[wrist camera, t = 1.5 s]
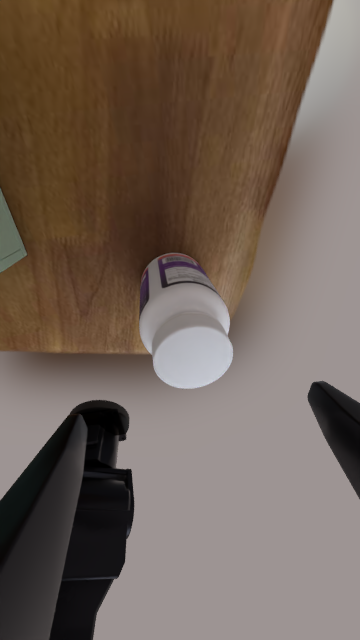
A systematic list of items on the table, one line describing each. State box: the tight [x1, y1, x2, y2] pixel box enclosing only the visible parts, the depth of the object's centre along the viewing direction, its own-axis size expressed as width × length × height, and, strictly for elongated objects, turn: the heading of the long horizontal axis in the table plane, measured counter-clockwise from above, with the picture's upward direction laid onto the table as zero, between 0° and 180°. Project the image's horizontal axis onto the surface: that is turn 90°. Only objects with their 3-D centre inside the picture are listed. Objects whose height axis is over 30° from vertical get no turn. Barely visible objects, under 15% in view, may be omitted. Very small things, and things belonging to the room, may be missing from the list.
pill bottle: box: [139, 253, 233, 389], centre depth 15 cm, size 5×5×10 cm
